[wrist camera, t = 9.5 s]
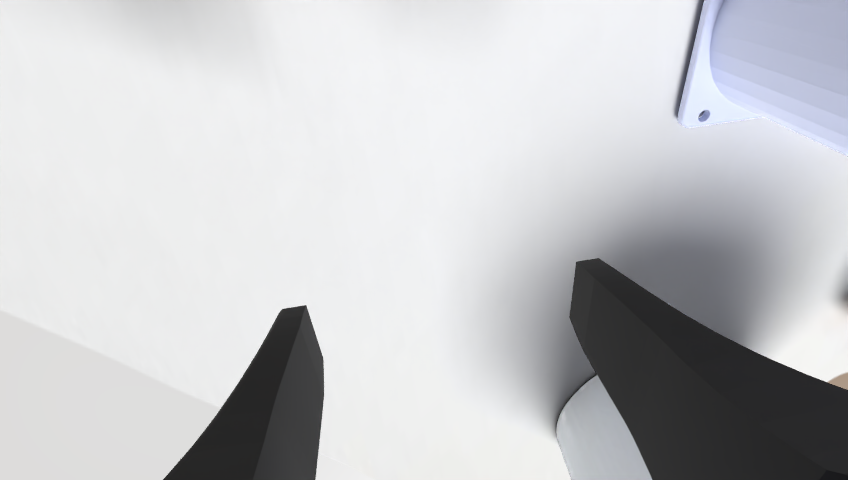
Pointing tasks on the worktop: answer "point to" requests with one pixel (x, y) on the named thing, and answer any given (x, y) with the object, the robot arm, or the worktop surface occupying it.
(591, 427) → the utensil holder
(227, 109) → the worktop surface
